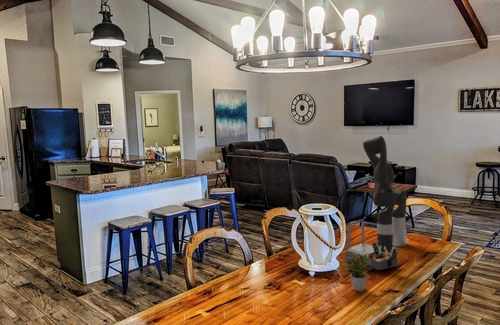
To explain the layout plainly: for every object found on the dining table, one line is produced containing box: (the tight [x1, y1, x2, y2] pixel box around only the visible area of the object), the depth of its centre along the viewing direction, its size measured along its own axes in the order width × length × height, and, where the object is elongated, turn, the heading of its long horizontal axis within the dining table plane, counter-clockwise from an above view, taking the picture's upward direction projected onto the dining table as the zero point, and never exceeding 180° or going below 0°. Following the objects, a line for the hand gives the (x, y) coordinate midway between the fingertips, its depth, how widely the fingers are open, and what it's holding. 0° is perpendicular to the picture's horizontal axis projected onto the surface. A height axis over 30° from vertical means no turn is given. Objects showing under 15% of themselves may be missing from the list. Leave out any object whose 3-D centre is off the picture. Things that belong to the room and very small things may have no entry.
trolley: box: [344, 218, 387, 270], centre depth 202 cm, size 18×12×22 cm, turn 35°
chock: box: [372, 257, 399, 271], centre depth 193 cm, size 13×4×4 cm, turn 118°
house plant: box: [340, 252, 369, 292], centre depth 174 cm, size 14×14×16 cm
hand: (385, 265), depth 193 cm, fingers closed on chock, 4 cm apart
